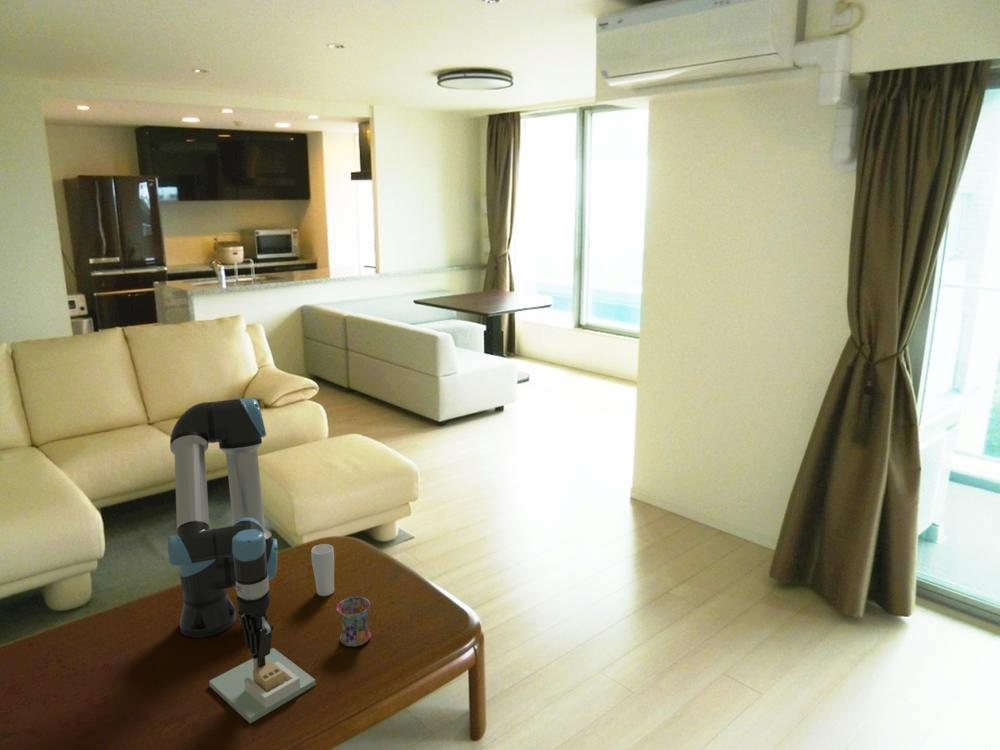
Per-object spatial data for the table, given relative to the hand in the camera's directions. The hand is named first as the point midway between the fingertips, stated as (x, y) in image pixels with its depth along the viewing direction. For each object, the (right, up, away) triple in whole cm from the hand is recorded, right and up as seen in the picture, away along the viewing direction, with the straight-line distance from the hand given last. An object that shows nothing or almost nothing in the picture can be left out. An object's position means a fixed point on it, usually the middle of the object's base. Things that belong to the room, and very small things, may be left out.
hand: (260, 676), depth 176 cm
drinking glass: (+6, +8, +43) cm, 44 cm away
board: (0, -3, +1) cm, 3 cm away
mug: (+20, +2, +20) cm, 28 cm away
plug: (+3, -2, -3) cm, 5 cm away
